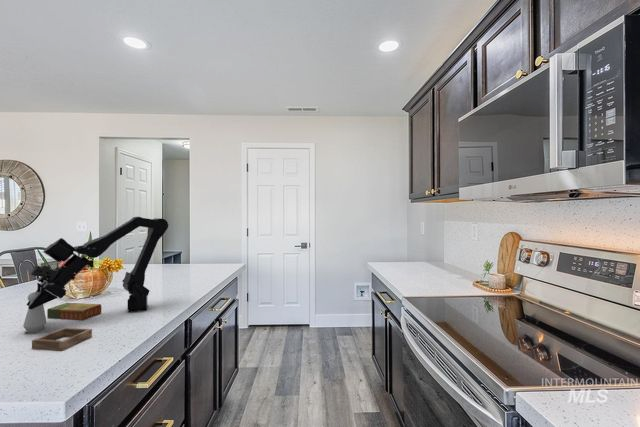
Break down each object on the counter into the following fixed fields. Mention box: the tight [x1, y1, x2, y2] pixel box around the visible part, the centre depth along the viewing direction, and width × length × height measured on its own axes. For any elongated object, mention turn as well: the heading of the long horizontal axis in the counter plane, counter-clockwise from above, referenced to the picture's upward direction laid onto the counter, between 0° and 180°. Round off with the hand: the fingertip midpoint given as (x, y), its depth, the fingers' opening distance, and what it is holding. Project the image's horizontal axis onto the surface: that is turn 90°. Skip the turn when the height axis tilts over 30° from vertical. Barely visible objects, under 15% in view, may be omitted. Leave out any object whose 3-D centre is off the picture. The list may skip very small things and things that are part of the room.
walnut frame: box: [31, 327, 93, 352], centre depth 97 cm, size 10×10×2 cm
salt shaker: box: [22, 291, 47, 334], centre depth 107 cm, size 6×6×13 cm
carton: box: [46, 302, 102, 321], centre depth 122 cm, size 8×16×4 cm, turn 82°
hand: (28, 307), depth 106 cm, fingers open, 5 cm apart
